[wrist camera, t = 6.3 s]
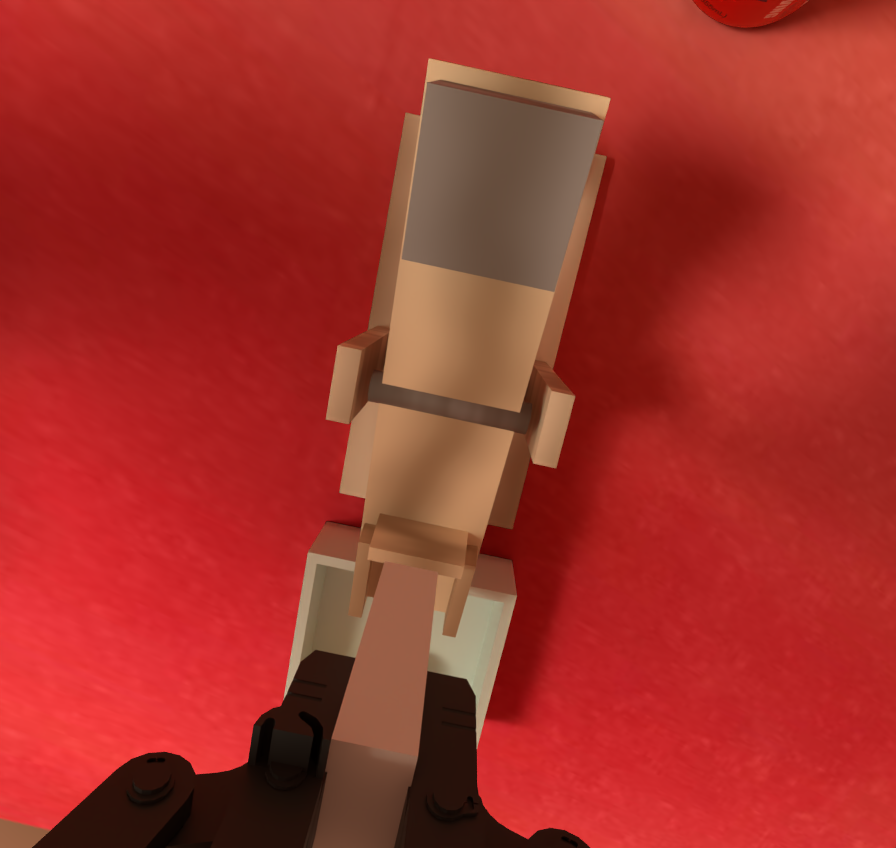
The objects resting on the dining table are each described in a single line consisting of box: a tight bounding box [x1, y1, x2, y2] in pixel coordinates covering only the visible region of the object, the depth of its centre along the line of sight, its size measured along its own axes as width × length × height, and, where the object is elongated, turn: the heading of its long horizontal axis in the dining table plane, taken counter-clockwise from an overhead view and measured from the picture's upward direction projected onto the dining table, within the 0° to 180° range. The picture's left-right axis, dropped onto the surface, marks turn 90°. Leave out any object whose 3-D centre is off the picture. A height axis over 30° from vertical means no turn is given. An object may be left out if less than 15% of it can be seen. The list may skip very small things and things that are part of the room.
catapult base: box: [326, 113, 607, 529], centre depth 30 cm, size 11×22×11 cm, turn 168°
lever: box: [348, 59, 611, 638], centre depth 25 cm, size 7×25×5 cm, turn 168°
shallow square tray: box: [283, 521, 517, 746], centre depth 38 cm, size 12×12×4 cm
